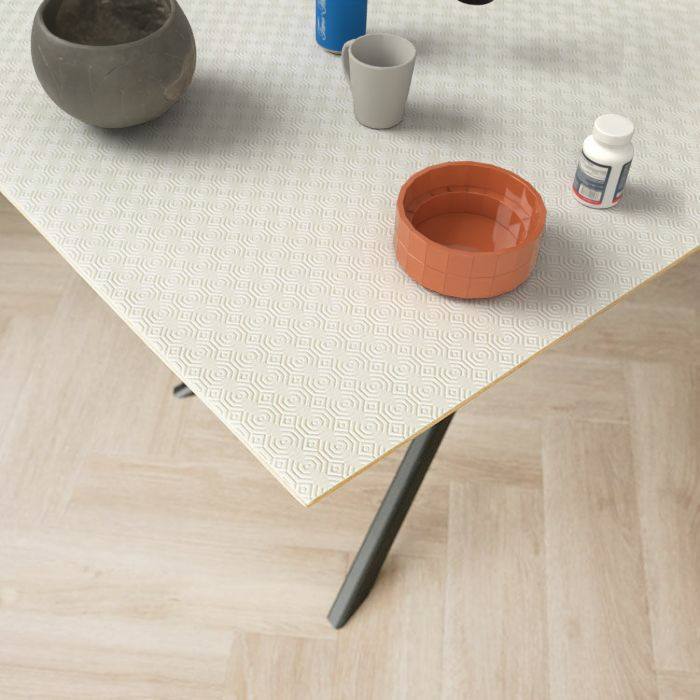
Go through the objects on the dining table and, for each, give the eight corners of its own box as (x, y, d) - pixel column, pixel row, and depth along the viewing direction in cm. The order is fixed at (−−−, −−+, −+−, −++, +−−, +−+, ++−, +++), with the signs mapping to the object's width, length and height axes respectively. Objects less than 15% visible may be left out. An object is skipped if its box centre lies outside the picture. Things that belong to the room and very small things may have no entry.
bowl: (186, 59, 114) (174, -40, 105) (216, 141, 103) (206, 37, 93) (40, 79, 110) (14, -22, 101) (55, 167, 99) (28, 61, 89)
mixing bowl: (540, 219, 95) (551, 173, 91) (528, 314, 86) (540, 267, 81) (407, 198, 97) (411, 151, 93) (381, 288, 88) (384, 241, 83)
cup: (378, 143, 103) (382, 76, 97) (319, 105, 108) (319, 39, 102) (424, 117, 107) (431, 51, 101) (365, 82, 112) (368, 17, 105)
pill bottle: (608, 177, 100) (629, 107, 94) (628, 206, 97) (650, 136, 90) (563, 182, 100) (581, 112, 93) (581, 212, 96) (601, 142, 90)
